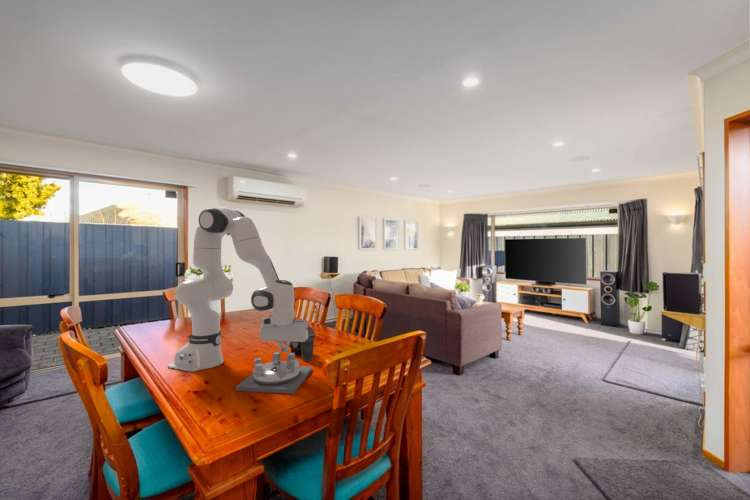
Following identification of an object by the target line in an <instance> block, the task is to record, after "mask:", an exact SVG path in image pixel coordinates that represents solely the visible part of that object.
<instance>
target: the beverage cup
mask: <svg viewBox="0 0 750 500" xmlns="http://www.w3.org/2000/svg"><path fill="white" fill-rule="evenodd" d="M303 319H304V320H306V321H307V319H306V317H303ZM307 330H308V339H307V340H306V341H305V342H301V350H302V355H301V357H302V359H301V361H302V362H311V361H312V360H313V356H314V344H315V337H316V333H315V329H313V328H312V327H310V326H308V328H307Z"/></svg>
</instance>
